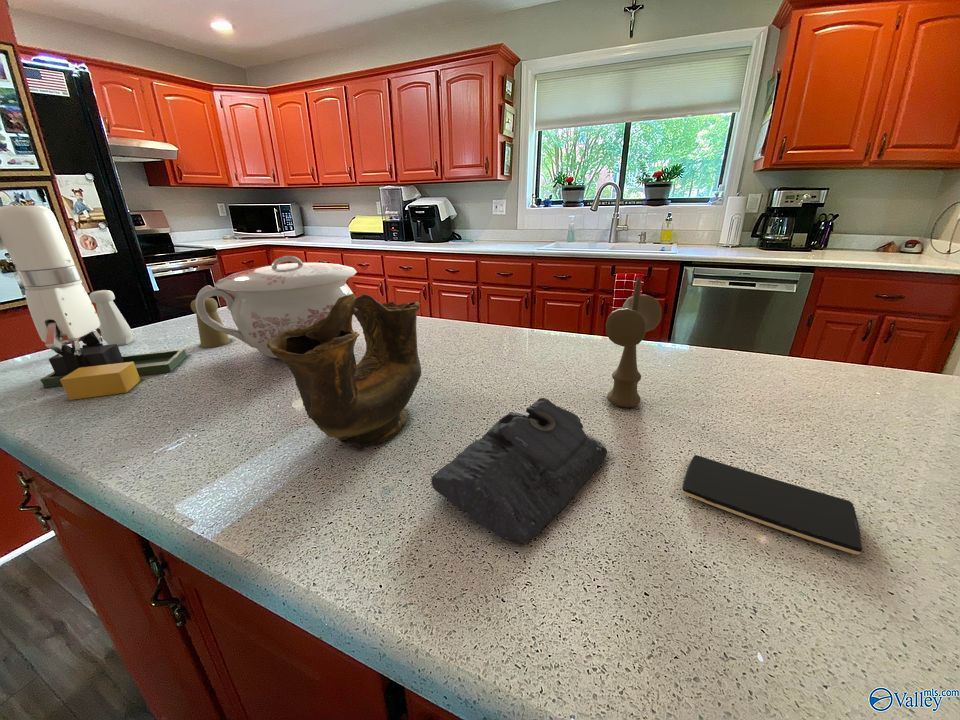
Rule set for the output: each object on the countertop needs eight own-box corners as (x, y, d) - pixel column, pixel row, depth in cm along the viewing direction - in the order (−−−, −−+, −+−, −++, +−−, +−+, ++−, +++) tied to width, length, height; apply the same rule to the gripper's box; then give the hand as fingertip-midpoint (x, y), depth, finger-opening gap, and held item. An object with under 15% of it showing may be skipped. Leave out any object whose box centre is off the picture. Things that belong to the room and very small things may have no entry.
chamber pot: (383, 329, 101) (372, 246, 93) (336, 374, 76) (316, 266, 68) (280, 329, 104) (261, 248, 96) (203, 372, 79) (168, 267, 71)
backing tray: (44, 387, 74) (39, 379, 74) (73, 369, 82) (70, 361, 82) (170, 371, 80) (168, 364, 79) (187, 356, 88) (184, 349, 87)
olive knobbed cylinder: (197, 348, 92) (182, 302, 88) (206, 340, 97) (192, 296, 93) (225, 345, 93) (212, 300, 89) (233, 337, 99) (221, 294, 95)
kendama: (650, 394, 65) (669, 273, 58) (634, 420, 58) (653, 285, 50) (613, 386, 69) (627, 270, 61) (594, 409, 61) (606, 281, 54)
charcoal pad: (57, 378, 76) (47, 358, 74) (74, 367, 81) (66, 349, 79) (110, 371, 78) (102, 352, 77) (124, 361, 83) (117, 343, 82)
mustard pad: (69, 400, 69) (59, 379, 68) (87, 387, 74) (78, 367, 73) (127, 392, 71) (118, 372, 70) (141, 380, 76) (133, 361, 75)
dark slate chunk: (411, 491, 45) (407, 457, 44) (518, 413, 61) (518, 385, 59) (523, 560, 36) (524, 521, 35) (615, 448, 52) (618, 416, 50)
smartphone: (692, 453, 48) (855, 501, 40) (691, 460, 49) (851, 510, 41) (680, 487, 43) (866, 551, 35) (678, 495, 43) (861, 561, 35)
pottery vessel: (348, 490, 46) (316, 327, 38) (276, 471, 49) (234, 318, 42) (441, 394, 67) (433, 278, 60) (387, 386, 71) (372, 275, 63)
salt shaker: (113, 340, 99) (92, 289, 94) (140, 338, 101) (121, 287, 96) (100, 348, 94) (77, 294, 89) (129, 345, 96) (108, 292, 91)
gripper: (56, 271, 79) (93, 355, 86) (-13, 289, 64) (38, 389, 71) (101, 269, 81) (133, 351, 88) (45, 284, 66) (89, 382, 73)
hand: (90, 367), depth 79 cm, fingers closed on charcoal pad, 5 cm apart
